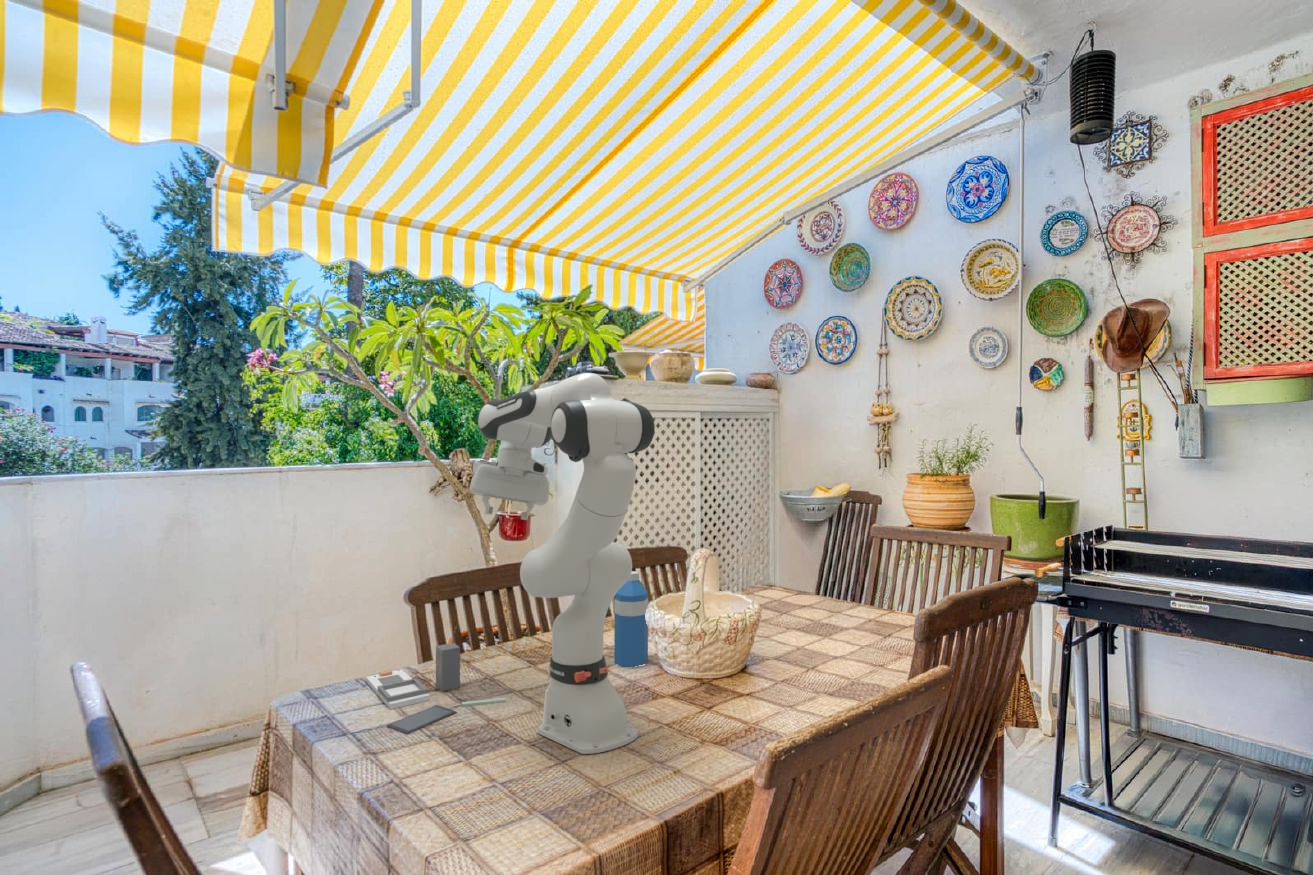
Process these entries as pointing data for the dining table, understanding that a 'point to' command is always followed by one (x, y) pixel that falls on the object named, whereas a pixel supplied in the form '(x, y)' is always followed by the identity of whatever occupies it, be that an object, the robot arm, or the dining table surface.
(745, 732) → the dining table surface
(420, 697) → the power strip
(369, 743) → the dining table surface
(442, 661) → the grey rectangular block
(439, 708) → the phone
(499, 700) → the pale green stick
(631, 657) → the water bottle
